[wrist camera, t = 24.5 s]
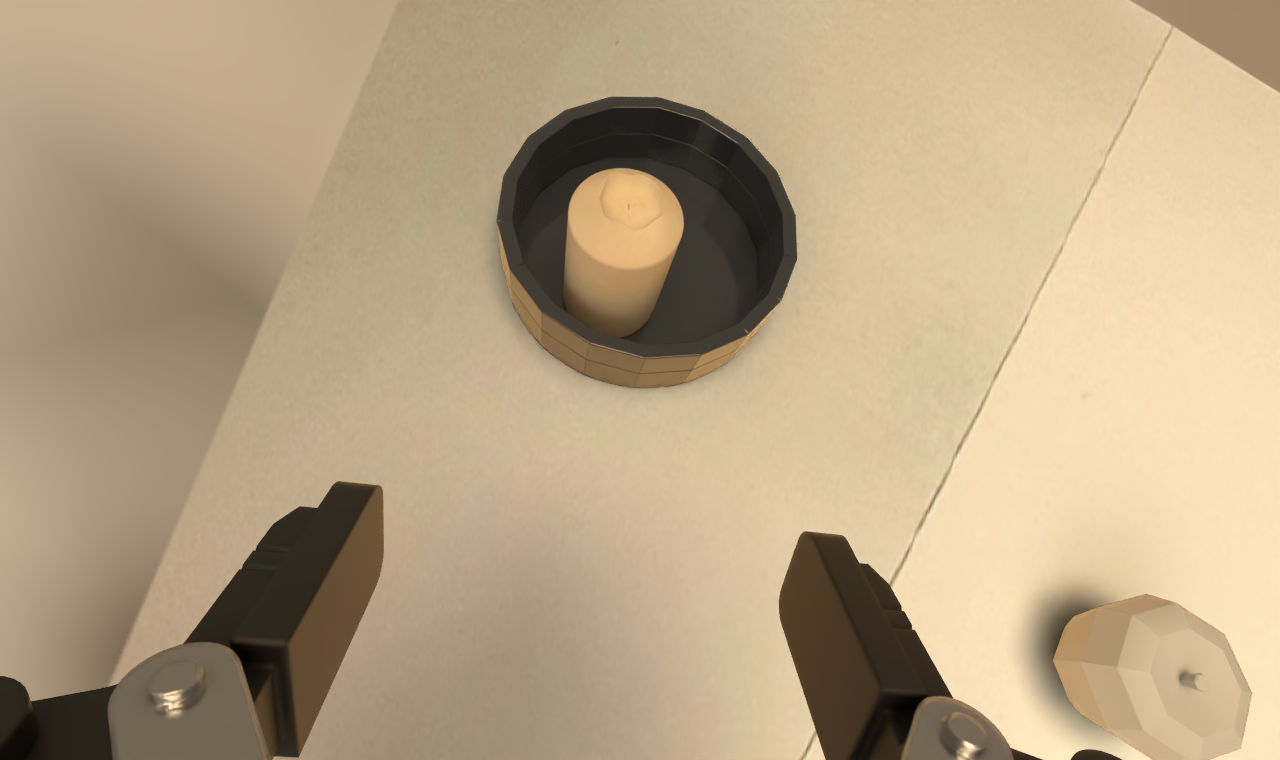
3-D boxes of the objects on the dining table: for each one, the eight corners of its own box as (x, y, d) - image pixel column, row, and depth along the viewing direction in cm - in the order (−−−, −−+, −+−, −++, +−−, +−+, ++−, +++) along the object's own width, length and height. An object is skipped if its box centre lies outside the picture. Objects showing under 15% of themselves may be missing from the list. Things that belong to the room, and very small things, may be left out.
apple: (1023, 734, 33) (1133, 766, 27) (1018, 581, 36) (1116, 577, 30) (1160, 759, 34) (1298, 795, 28) (1145, 607, 36) (1266, 608, 30)
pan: (612, 444, 35) (622, 421, 30) (449, 223, 38) (436, 171, 33) (819, 299, 40) (855, 260, 35) (661, 115, 43) (676, 56, 38)
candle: (595, 356, 36) (613, 272, 27) (545, 282, 37) (545, 176, 28) (671, 312, 38) (714, 218, 28) (621, 243, 39) (646, 130, 29)
